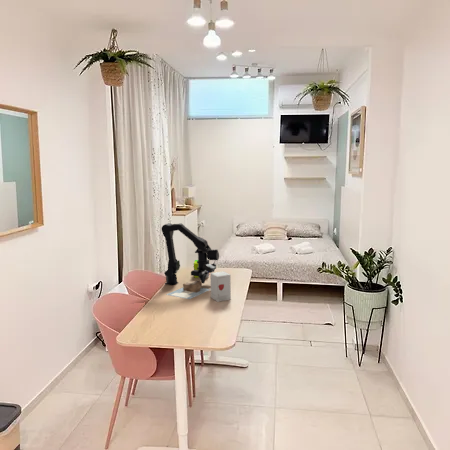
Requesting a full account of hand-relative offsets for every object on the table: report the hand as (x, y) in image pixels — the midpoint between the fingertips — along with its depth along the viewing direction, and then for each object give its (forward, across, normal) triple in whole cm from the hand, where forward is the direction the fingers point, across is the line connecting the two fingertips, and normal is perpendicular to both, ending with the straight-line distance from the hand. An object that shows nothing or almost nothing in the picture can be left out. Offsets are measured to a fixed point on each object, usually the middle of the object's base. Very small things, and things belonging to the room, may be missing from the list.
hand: (203, 283), depth 278 cm
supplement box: (+2, -17, -24) cm, 29 cm away
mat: (+2, -16, 0) cm, 16 cm away
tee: (+1, -10, 0) cm, 10 cm away
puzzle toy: (+2, +20, +15) cm, 25 cm away
